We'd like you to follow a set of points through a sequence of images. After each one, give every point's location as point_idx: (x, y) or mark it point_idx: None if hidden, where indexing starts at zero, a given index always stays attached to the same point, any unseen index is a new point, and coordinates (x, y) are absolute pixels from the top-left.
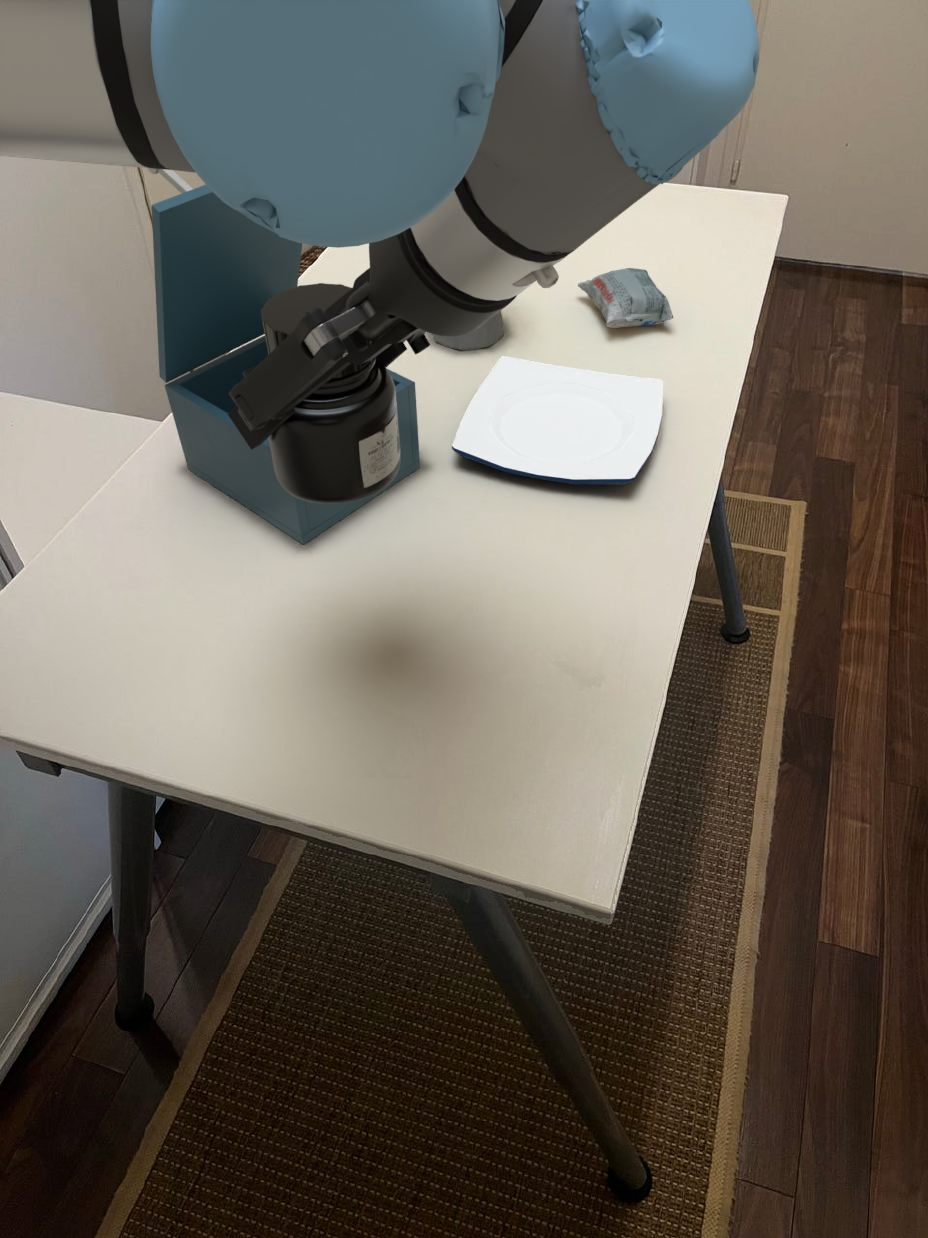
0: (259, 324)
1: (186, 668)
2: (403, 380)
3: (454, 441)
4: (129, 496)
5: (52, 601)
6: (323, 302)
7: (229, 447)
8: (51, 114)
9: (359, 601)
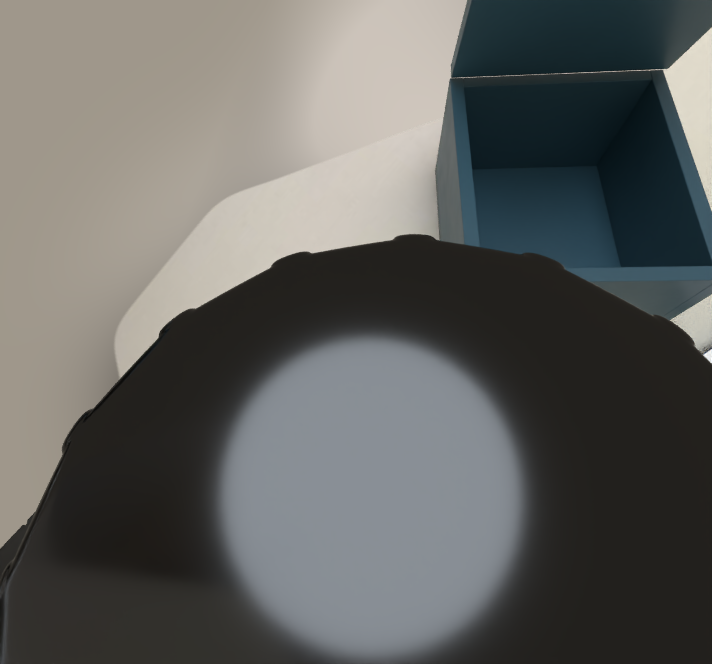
0: (615, 56)
1: None
2: None
3: (709, 352)
4: (369, 164)
5: (233, 230)
6: (525, 573)
7: (451, 198)
8: None
9: None
